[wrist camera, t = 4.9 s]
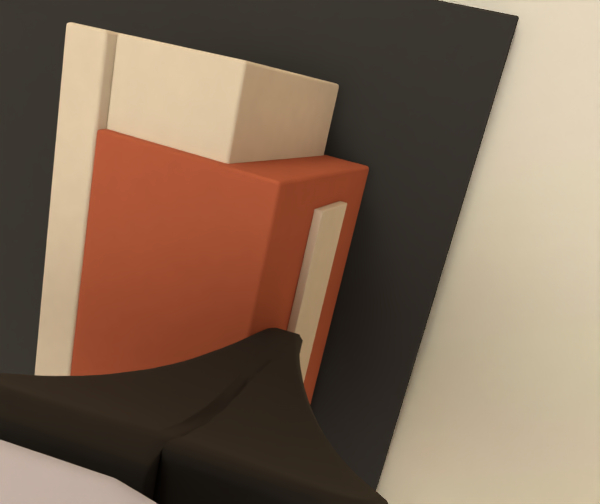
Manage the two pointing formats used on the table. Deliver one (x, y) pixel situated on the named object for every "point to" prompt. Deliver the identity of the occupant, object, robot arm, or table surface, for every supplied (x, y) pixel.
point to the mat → (340, 143)
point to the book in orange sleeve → (188, 208)
